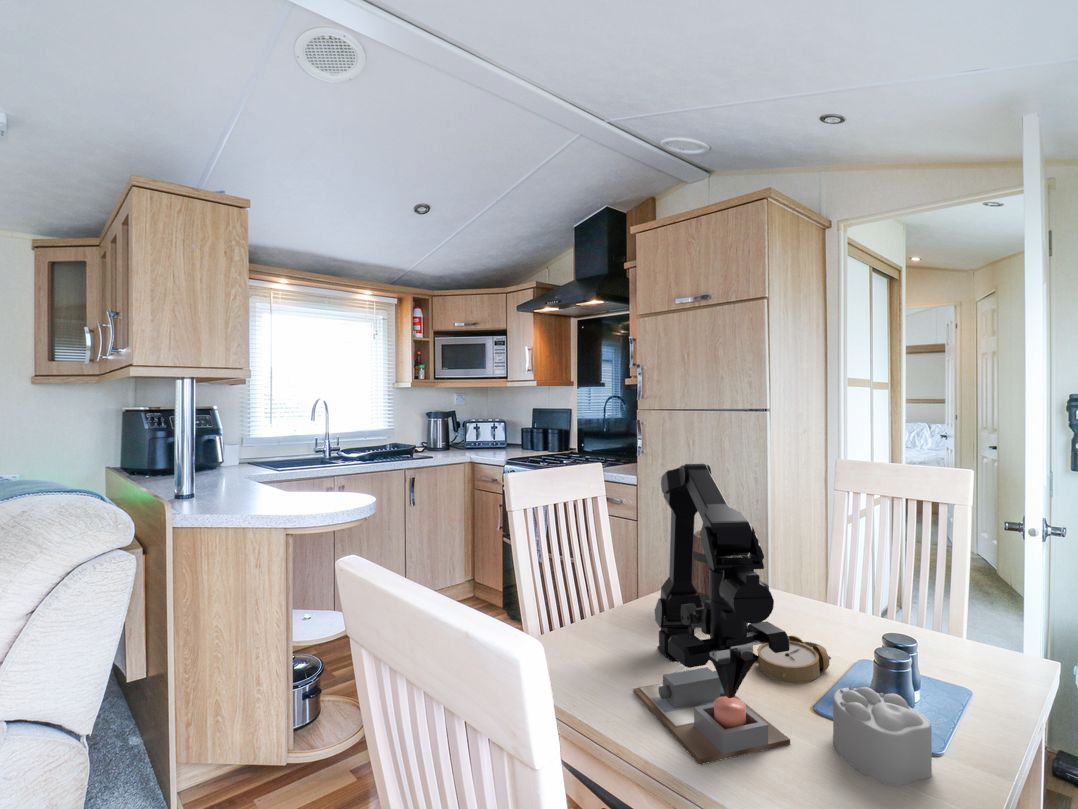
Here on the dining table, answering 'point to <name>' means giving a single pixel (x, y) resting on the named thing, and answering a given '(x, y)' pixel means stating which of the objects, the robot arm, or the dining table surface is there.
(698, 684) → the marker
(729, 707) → the button
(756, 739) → the button housing
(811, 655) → the alarm clock
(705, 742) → the picture frame
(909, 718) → the lumpy-topped squat cylinder
